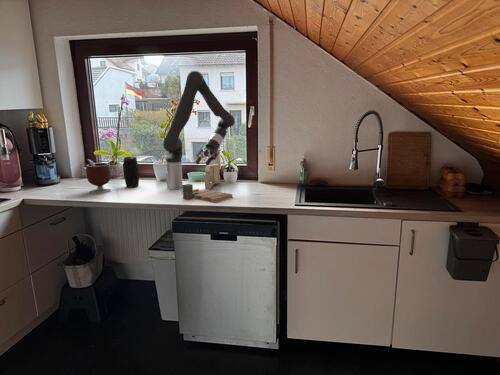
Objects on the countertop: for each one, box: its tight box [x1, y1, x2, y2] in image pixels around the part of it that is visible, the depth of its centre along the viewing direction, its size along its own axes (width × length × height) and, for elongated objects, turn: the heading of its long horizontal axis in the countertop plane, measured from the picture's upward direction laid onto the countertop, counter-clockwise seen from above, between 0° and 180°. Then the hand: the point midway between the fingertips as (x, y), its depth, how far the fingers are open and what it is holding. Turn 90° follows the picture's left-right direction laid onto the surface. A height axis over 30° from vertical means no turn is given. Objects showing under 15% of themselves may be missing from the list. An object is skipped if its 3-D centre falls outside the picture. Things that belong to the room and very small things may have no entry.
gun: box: [204, 163, 221, 190], centre depth 235 cm, size 24×3×15 cm, turn 168°
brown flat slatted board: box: [193, 188, 233, 203], centre depth 206 cm, size 22×14×2 cm, turn 51°
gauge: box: [182, 183, 200, 200], centre depth 205 cm, size 4×10×8 cm, turn 141°
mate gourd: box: [85, 158, 112, 195], centre depth 222 cm, size 16×14×20 cm
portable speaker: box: [122, 156, 140, 189], centre depth 235 cm, size 9×9×20 cm
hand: (201, 163), depth 208 cm, fingers open, 8 cm apart
